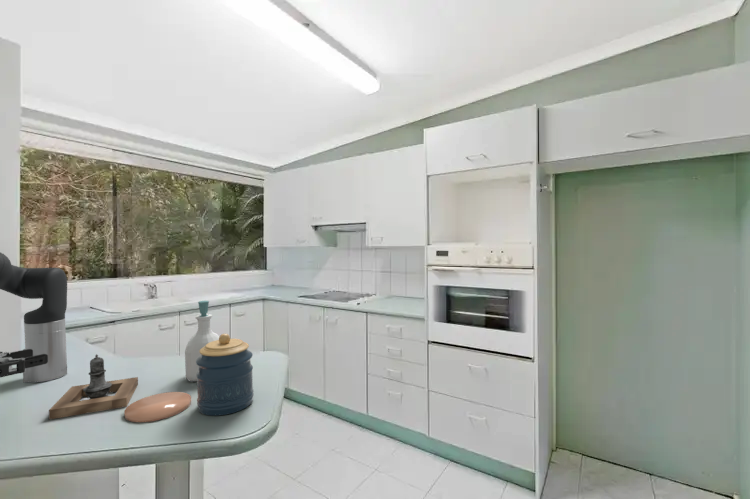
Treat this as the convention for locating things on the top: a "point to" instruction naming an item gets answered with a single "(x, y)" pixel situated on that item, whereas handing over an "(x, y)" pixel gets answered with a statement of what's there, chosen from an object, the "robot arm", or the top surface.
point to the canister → (224, 377)
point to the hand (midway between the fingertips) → (39, 355)
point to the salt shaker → (97, 380)
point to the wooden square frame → (73, 406)
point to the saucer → (157, 407)
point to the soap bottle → (198, 341)
